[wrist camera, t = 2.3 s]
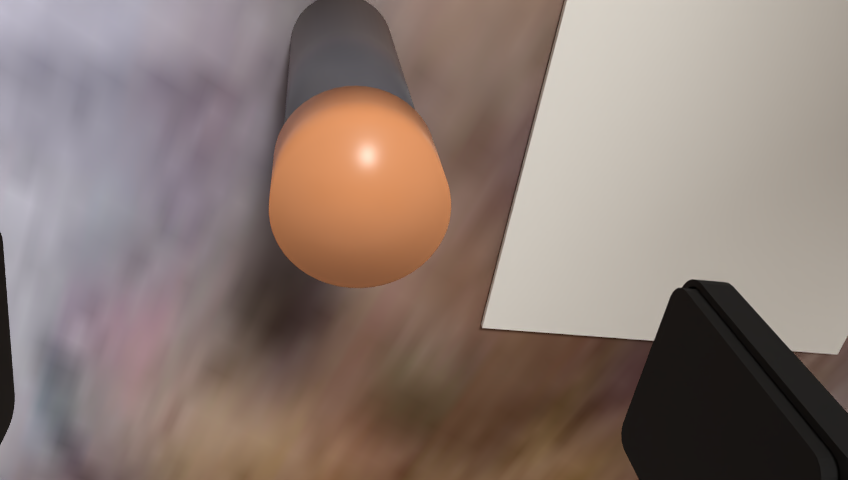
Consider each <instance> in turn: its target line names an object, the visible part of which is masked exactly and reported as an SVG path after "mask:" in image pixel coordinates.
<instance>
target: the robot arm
mask: <svg viewBox="0 0 848 480" xmlns="http://www.w3.org/2000/svg"><path fill="white" fill-rule="evenodd" d="M14 402H15V394H14V381H13V368H12V355H11V342H10V329H9V316H8V303H7V290H6V277H5V264H4V251H3V240H2V235H1V233H0V445H1V442H2V440H3V438H4V436H5V434H6V432H7V430H8V428H9V425H10V423H11V419H12V416H13V410H14ZM621 435H622V444H623V448H624V450H625V452H626V454H627V456H628V458H629V460H630V462H631V464H632V466H633V468H634V470H635V472H636V474H637V476H638V478H639V480H848V413H847V412H846V411H845V410H844V409H843V408H842V406H841V405H840V404H839V403H838V402H837V401H836V400H835V399H834V398H833V396H832V395H831V394H830V393H829V392H828V391H827V390H826V389H825V388H824V386H823V385H822V384H821V383H820V382H819V381H818V380H817V379H816V378H815V376H814V375H813V374H812V373H811V372H810V371H809V370H808V369H807V368H806V366H805V365H804V364H803V363H802V362H801V361H800V360H799V359H798V358H797V357H796V355H795V354H794V353H793V352H792V351H791V350H790V349H789V348H788V347H787V345H786V344H785V343H784V342H783V341H782V340H781V339H780V338H779V337H778V335H777V334H776V333H775V332H774V331H773V330H772V329H771V328H770V327H769V325H768V324H767V323H766V322H765V321H764V320H763V319H762V318H761V317H760V315H759V314H758V313H757V312H756V311H755V310H754V309H753V308H752V307H751V305H750V304H749V303H748V302H747V301H746V300H745V299H744V298H743V297H742V296H741V294H740V293H739V292H738V291H737V290H736V289H735V288H734V287H733V286H732V285H731V284H730V283H727V282H718V281H707V280H695V279H691V280H689V281H687V282H686V283H685V284H684V285H683V287H682V288H677V289H675V290H674V291H673V292H672V294H671V296H670V299H669V302H668V304H667V307H666V310H665V312H664V315H663V318H662V320H661V323H660V326H659V328H658V331H657V334H656V337H655V339H654V342H653V345H652V347H651V350H650V353H649V355H648V358H647V361H646V363H645V366H644V369H643V371H642V374H641V377H640V379H639V382H638V385H637V388H636V390H635V393H634V396H633V398H632V401H631V404H630V406H629V409H628V412H627V414H626V417H625V420H624V422H623V426H622V433H621Z"/></svg>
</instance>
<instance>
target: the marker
mask: <svg viewBox="0 0 848 480" xmlns="http://www.w3.org/2000/svg"><path fill="white" fill-rule="evenodd" d="M450 214H451V196H450V190H449V186H448V183H447V180H446V177H445V174H444V171H443V168H442V165H441V162H440V159H439V156H438V154H437V151H436V148H435V145H434V142H433V139H432V136H431V134H430V131H429V129H428V127H427V125H426V124H425V122H424V121H423V119H422V117H421V116H420V115H419V114H418V113H417V112H416V111H415V109H414V106H413V103H412V99H411V96H410V93H409V90H408V87H407V84H406V81H405V78H404V75H403V71H402V68H401V65H400V62H399V59H398V56H397V53H396V50H395V46H394V43H393V40H392V37H391V34H390V31H389V28H388V25H387V23H386V21H385V20H384V18H383V16H382V15H381V14H380V13H379V12H378V10H376V9H375V8H374V7H373V6H372V5H370V4H369V3H368V2H366V1H364V0H317V1H315V2H314V3H312V4H311V5H309V6H308V7H307V8H306V9H305V10H304V11H303V12H302V13H301V15H300V16H299V18H298V19H297V21H296V23H295V25H294V28H293V31H292V37H291V47H290V60H289V72H288V85H287V98H286V110H285V123H284V125H283V127H282V129H281V131H280V133H279V135H278V139H277V142H276V145H275V151H274V159H273V168H272V178H271V188H270V198H269V218H270V224H271V228H272V231H273V235H274V237H275V239H276V241H277V243H278V245H279V247H280V248H281V250H282V251H283V253H284V254H285V255H286V256H287V258H288V259H289V260H290V261H291V262H292V263H293V264H294V265H295V266H297V267H298V268H299V269H300V270H302V271H303V272H305V273H306V274H308V275H310V276H311V277H313V278H315V279H317V280H320V281H322V282H325V283H328V284H332V285H336V286H341V287H348V288H367V287H375V286H380V285H384V284H387V283H391V282H394V281H396V280H398V279H401V278H403V277H405V276H407V275H408V274H410V273H412V272H413V271H415V270H416V269H417V268H419V267H420V266H421V265H423V264H424V263H425V262H426V261H427V260H428V259H429V258H430V257H431V256H432V254H433V253H434V252H435V251H436V249H437V248H438V246H439V245H440V243H441V241H442V240H443V238H444V235H445V233H446V231H447V228H448V224H449V221H450Z"/></svg>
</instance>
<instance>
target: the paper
mask: <svg viewBox="0 0 848 480" xmlns="http://www.w3.org/2000/svg"><path fill="white" fill-rule="evenodd" d="M691 279H695V280H707V281H718V282H727V283H730V284H731V285H732V286H733V287H734V288H735V289H736V290H737V291H738V292H739V293H740V294H741V296H742V297H743V298H744V299H745V300H746V301H747V302H748V303H749V304H750V305H751V307H752V308H753V309H754V310H755V311H756V312H757V313H758V314H759V315H760V317H761V318H762V319H763V320H764V321H765V322H766V323H767V324H768V325H769V327H770V328H771V329H772V330H773V331H774V332H775V333H776V334H777V335H778V337H779V338H780V339H781V340H782V341H783V342H784V343H785V344H786V345H787V347H788V348H789V349H790V350H791V351H796V352H810V353H823V354H836V355H838V353H839V351H840V349H841V347H842V345H843V343H844V342H845V340H846V338H847V336H848V0H565V1H564V5H563V9H562V13H561V16H560V20H559V24H558V28H557V32H556V36H555V40H554V44H553V47H552V51H551V55H550V59H549V63H548V67H547V71H546V75H545V78H544V82H543V86H542V90H541V94H540V98H539V102H538V106H537V110H536V113H535V117H534V121H533V125H532V129H531V133H530V137H529V141H528V144H527V148H526V152H525V156H524V160H523V164H522V168H521V172H520V175H519V179H518V183H517V187H516V191H515V195H514V199H513V203H512V206H511V210H510V214H509V218H508V222H507V226H506V230H505V234H504V238H503V241H502V245H501V249H500V253H499V257H498V261H497V265H496V269H495V272H494V276H493V280H492V284H491V288H490V292H489V296H488V300H487V303H486V307H485V311H484V315H483V319H482V323H481V326H482V328H490V329H503V330H517V331H530V332H543V333H557V334H570V335H583V336H597V337H610V338H623V339H636V340H650V341H654V339H655V337H656V334H657V331H658V328H659V326H660V323H661V320H662V318H663V315H664V312H665V310H666V307H667V304H668V302H669V299H670V296H671V294H672V292H673V291H674V290H675V289H677V288H682V287H683V285H684V284H685V283H686V282H687V281H689V280H691Z"/></svg>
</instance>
